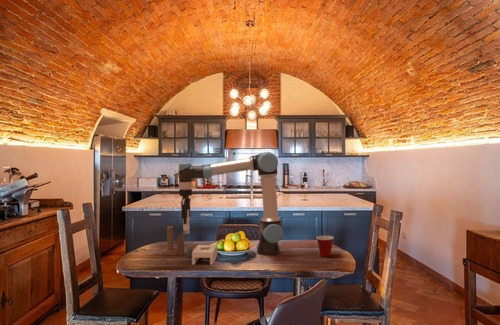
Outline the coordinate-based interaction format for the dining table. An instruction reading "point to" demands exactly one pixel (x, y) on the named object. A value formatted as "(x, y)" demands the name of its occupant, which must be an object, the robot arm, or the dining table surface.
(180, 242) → the brown wooden bracket
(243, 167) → the robot arm
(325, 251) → the plastic cup
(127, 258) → the dining table surface
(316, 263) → the dining table surface
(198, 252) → the bridge
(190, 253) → the short charcoal pin
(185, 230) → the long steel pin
